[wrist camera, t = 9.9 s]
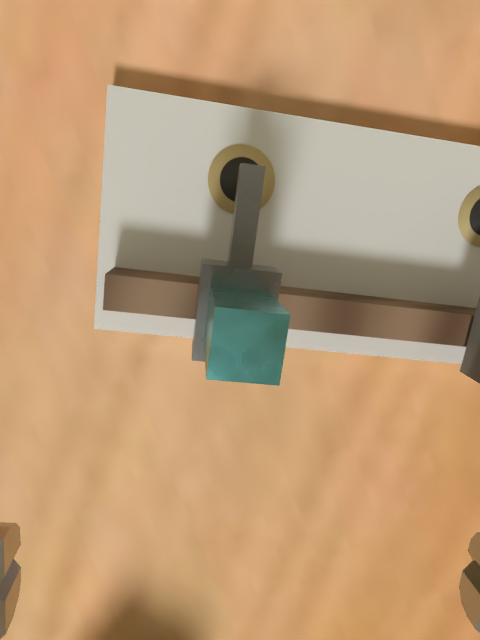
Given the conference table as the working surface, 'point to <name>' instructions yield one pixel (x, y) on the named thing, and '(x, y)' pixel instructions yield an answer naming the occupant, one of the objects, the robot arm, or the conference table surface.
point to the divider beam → (311, 311)
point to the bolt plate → (289, 209)
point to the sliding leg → (241, 300)
